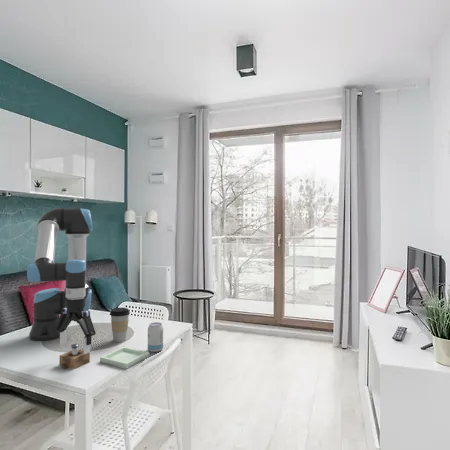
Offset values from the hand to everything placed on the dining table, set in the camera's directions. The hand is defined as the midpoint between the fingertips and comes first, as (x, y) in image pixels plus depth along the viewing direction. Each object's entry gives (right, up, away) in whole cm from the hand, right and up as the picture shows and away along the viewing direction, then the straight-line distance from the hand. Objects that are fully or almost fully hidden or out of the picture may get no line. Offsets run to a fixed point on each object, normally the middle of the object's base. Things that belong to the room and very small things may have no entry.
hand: (74, 350), depth 139 cm
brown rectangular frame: (0, -6, 0) cm, 6 cm away
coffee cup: (+9, -6, +29) cm, 31 cm away
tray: (+19, -6, +6) cm, 21 cm away
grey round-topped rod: (0, -6, 0) cm, 6 cm away
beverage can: (+30, -6, +16) cm, 34 cm away
